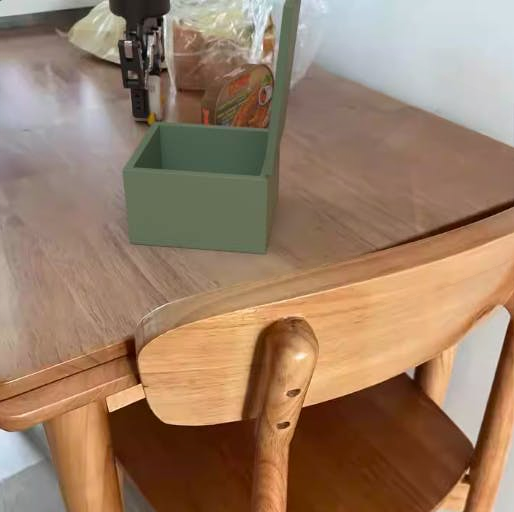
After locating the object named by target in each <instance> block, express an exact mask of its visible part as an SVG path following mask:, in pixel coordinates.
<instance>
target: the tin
mask: <svg viewBox="0 0 514 512" xmlns="http://www.w3.org/2000/svg"><path fill="white" fill-rule="evenodd" d="M274 82H275V76H274V74H273V71H272V69H271V68H270V67H269V66H268V65H267V64H264V63H259V64H258V63H244V64H241V65H240V66H239V67H236V68H235V69H233V70H230V71H229V72H226V73H225V74H223V75H222V76H220V77H217V78H215V79H214V80H213V81H211V82H210V83H209V84H208V86H207V87H206V89H205V91H204V93H203V95H202V99H201V103H200V121H201V124H203V125H219V126H235V127H250V128H266V127H267V125H269V123H270V115H271V107H272V99H273V90H274Z"/></svg>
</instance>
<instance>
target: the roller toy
mask: <svg viewBox="0 0 514 512" xmlns="http://www.w3.org/2000/svg"><path fill="white" fill-rule="evenodd" d="M134 79H138V76H137V74H136V75H135V74H134ZM148 83H149V87H148V90H149V104H150V115H149V117H148V118H146V119H145V118H135V117H134V116H133V114H132V104H131V92H130V91H129V108H130V114H131V118H132V120H134V121H135V122H147V124H148V125H149V126H150V127H151V125H152V124H153V122H154V121H155V122H161V120H162V119H163V116H164V102H166V96H165V95H164V90H163V89H164V88H163V81H162V78H160V77H159V76H149V81H148Z"/></svg>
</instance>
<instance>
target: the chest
mask: <svg viewBox="0 0 514 512" xmlns="http://www.w3.org/2000/svg"><path fill="white" fill-rule="evenodd" d="M268 132H269V128H266V127H265V128H250V127H235V126H219V125H203V124H202V123H201V124H199V123H187V122H186V123H185V122H170V121H156V122H155V121H154V122H153V124H152V125H151V126H150V127H149V128H148V130H147V131H146V133H145V134H144V136H143V137H142V139H141V141H140V142H139V144H138V146H137V147H136V149H135V150H134V152H133V153H132V154H131V156H130V158H129V159H128V161H127V162H126V164H125V166H124V167H123V169H122V179H123V180H122V181H123V189H124V200H125V207H126V209H125V210H126V219H127V228H128V237H129V238H128V239H129V244H131V245H144V246H145V245H146V246H155V247H156V246H157V247H158V246H159V247H168V248H169V247H171V248H183V249H193V250H194V249H195V250H206V251H207V250H208V251H218V252H219V251H220V252H232V253H233V252H234V253H235V252H236V253H244V254H245V253H246V254H259V255H266V253H267V248H268V245H269V240H270V235H271V231H272V226H273V221H274V219H275V218H274V217H275V213H276V208H277V203H278V199H279V184H280V159H281V145H280V146H279V150H278V154H277V158H276V162H275V166H274V170H273V174H272V176H270V175H264V166H265V158H266V149H267V141H268Z"/></svg>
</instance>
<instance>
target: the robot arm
mask: <svg viewBox="0 0 514 512" xmlns="http://www.w3.org/2000/svg"><path fill="white" fill-rule="evenodd" d="M108 6H109V7H108V9H109V11H110V12H111V14H113V15H114V16H115V17H120V18H122V19H124V20H125V30H123V33H122V39H118V42H117V49H118V56H119V63H120V71H121V79H122V86H123V89H128V90H129V93H130V92H131V104H132V114H133V116H134V117H135V118H145V119H146V118H148V117H149V115H150V104H149V90H148V87H149V83H148V81H149V76H159V77H160V78H161V72H162V69H163V63H165V60H166V55H165V31H164V30H165V29H164V28H165V27H164V22H165V18H164V16H166V15H167V14H169V12H171V0H108ZM135 73H136V75H137V76H138V79H134V76H135ZM161 79H162V78H161Z"/></svg>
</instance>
